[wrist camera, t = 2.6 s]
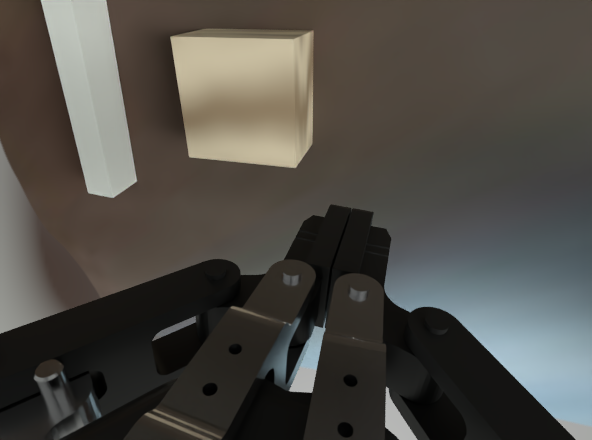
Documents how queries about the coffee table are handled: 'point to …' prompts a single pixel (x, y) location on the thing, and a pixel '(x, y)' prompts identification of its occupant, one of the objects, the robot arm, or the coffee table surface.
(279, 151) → the maple block
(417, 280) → the coffee table surface
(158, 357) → the robot arm
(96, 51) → the board
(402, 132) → the coffee table surface
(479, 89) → the coffee table surface
